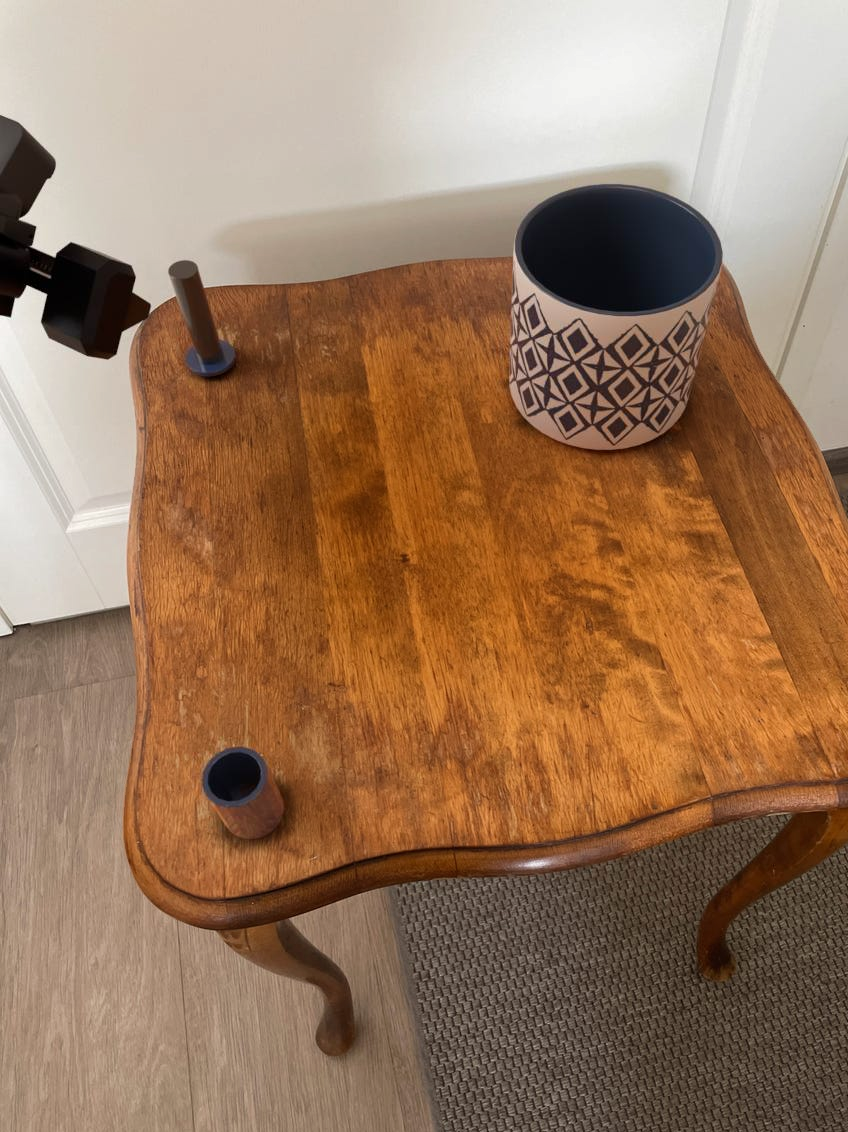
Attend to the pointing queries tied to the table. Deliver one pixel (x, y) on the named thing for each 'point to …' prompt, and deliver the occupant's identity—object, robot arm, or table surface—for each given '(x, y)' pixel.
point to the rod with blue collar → (199, 322)
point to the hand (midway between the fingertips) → (100, 289)
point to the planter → (609, 313)
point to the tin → (243, 792)
